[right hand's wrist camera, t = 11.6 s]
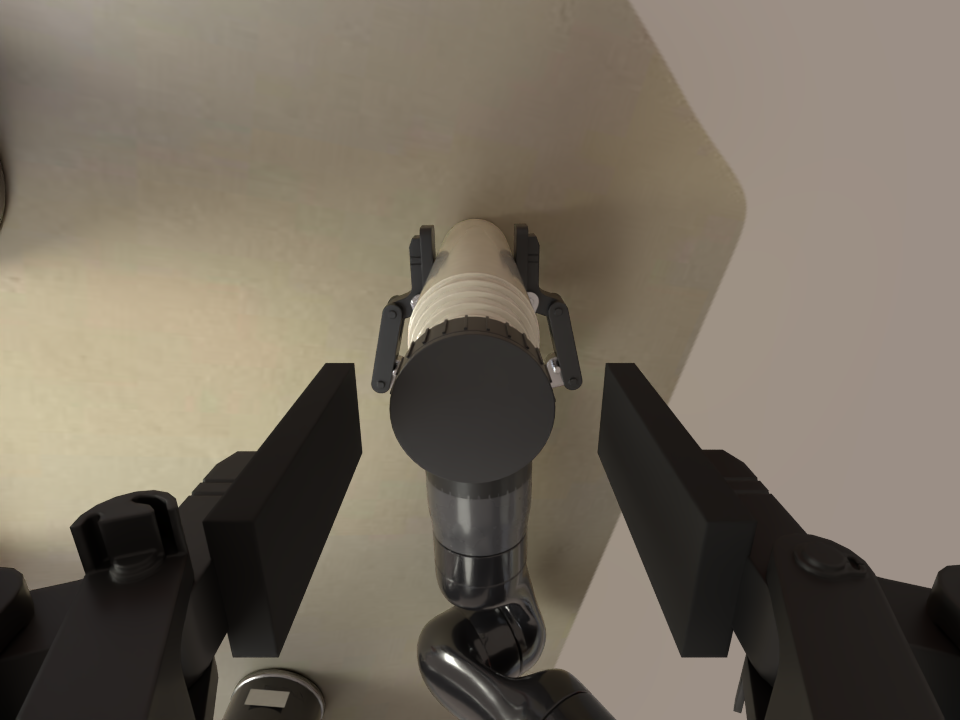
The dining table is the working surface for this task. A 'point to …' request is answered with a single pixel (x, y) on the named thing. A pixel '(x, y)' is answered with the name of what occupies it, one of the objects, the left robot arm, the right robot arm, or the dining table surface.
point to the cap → (472, 400)
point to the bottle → (474, 283)
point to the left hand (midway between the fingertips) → (473, 227)
